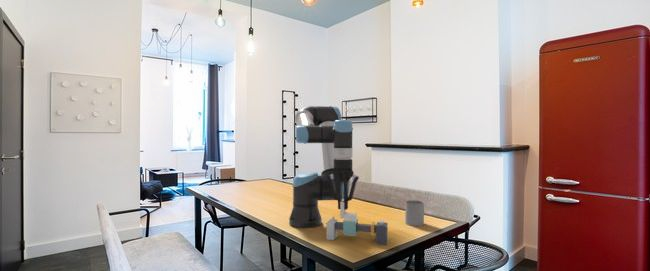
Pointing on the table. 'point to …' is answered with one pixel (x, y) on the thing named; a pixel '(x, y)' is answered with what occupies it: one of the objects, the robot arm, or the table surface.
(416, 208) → the cup
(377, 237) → the slider rail
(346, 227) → the sleeve
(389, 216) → the table surface
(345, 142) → the robot arm
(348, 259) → the table surface
